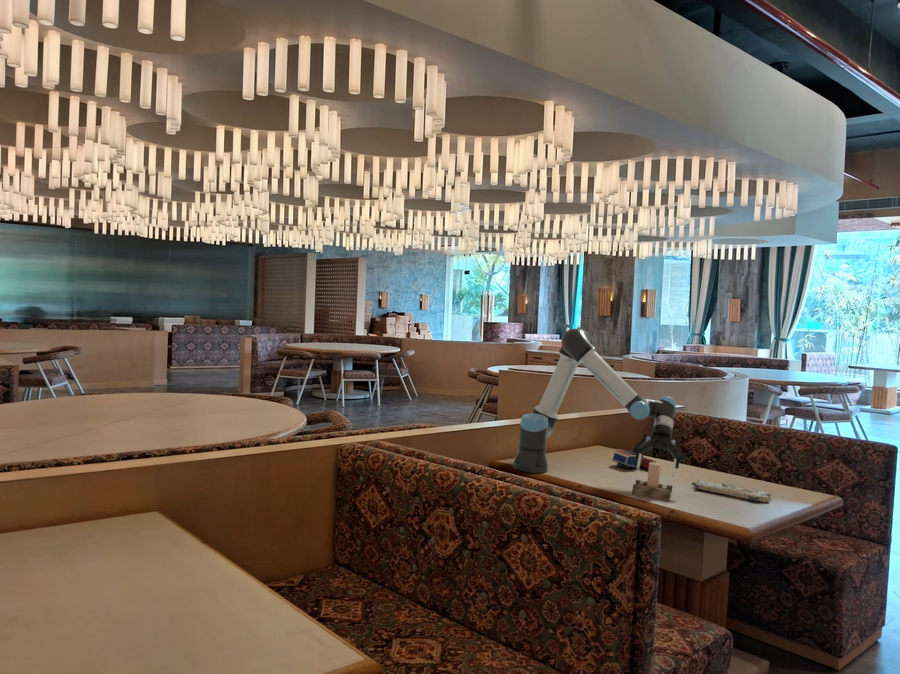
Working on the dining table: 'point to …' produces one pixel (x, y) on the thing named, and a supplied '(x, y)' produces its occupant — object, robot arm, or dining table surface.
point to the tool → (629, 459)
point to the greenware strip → (654, 474)
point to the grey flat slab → (733, 491)
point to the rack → (652, 490)
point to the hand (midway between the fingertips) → (655, 471)
